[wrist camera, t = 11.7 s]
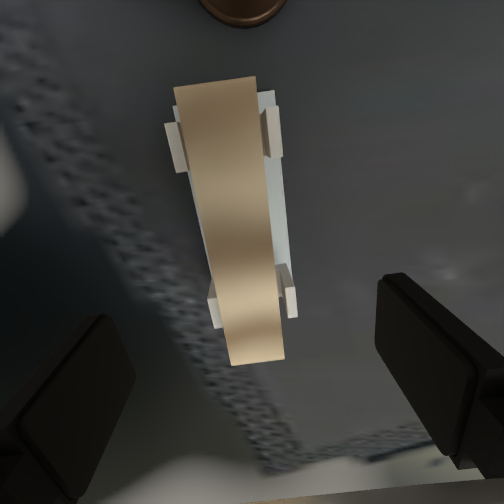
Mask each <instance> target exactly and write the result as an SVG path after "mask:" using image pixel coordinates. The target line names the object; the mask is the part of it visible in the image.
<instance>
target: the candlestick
mask: <svg viewBox="0 0 504 504" xmlns="http://www.w3.org/2000/svg"><path fill="white" fill-rule="evenodd" d="M199 2H200V3H201V5H202V6H203V7H204V8H205V10H206V11H207V12H208V13H209V14H210V15H211V16H213V17H214V18H215V19H216V20H218V21H219V22H221V23H223V24H225V25H227V26H230V27H234V28H241V29H248V28H253V27H258V26H260V25H262V24H264V23H266V22H268V21H269V20H270V19H272V18H273V17H274V16H276V15H277V13H278V12H279V11H280V10H281V9H282V8H283V7H284V5H285V3H286V2H287V0H199Z"/></svg>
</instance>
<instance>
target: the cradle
mask: <svg viewBox="0 0 504 504" xmlns="http://www.w3.org/2000/svg"><path fill="white" fill-rule="evenodd" d="M257 97H258V107H259V116H260V126H261V136H262V145H263V155H264V165H265V174H266V184H267V194H268V203H269V213H270V223H271V233H272V242H273V252H274V262H275V271H276V281H277V291H278V297H279V296H283V300H284V304H285V308H286V311H287V315H288V318H293V317H298V315H297V304H296V293H295V286H294V283H293V280H292V273H291V262H290V251H289V241H288V230H287V220H286V209H285V198H284V188H283V177H282V167H281V157H283V150H282V139H281V128H280V117H279V106H276V103H275V93H274V90H271V91H265V92H258V93H257ZM173 111H174V115H175V120H176V122H171V123H165V124H164V126H165V130H166V134H167V138H168V142H169V146H170V150H171V154H172V158H173V162H174V166H175V170H176V173H180V172H186V171H187V172H188V176H189V181H190V185H191V189H192V194H193V198H194V202H195V207H196V211H197V216H198V220H199V224H200V229H201V233H202V237H203V242H204V246H205V250H206V255H207V259H208V264H209V268H210V272H211V277H212V279H211V284H210V288H209V293H208V298H207V300H208V305H209V309H210V313H211V317H212V321H213V325H214V329H215V328H222V327H223V323H222V318H221V314H220V309H219V304H218V299H217V294H216V290H215V285H214V280H213V275H212V271H211V266H210V261H209V256H208V251H207V247H206V242H205V237H204V232H203V227H202V223H201V218H200V213H199V208H198V204H197V199H196V194H195V189H194V184H193V180H192V175H191V170H190V165H189V161H188V156H187V151H186V146H185V141H184V137H183V132H182V127H181V122H180V117H179V113H178V108H177V105H176V106H173Z"/></svg>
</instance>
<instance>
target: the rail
mask: <svg viewBox="0 0 504 504" xmlns="http://www.w3.org/2000/svg"><path fill="white" fill-rule="evenodd" d="M173 89H174V94H175V98H176V103H177V108H178V113H179V117H180V122H181V127H182V132H183V137H184V141H185V146H186V151H187V156H188V161H189V165H190V170H191V175H192V180H193V184H194V189H195V194H196V199H197V204H198V208H199V213H200V218H201V223H202V227H203V232H204V237H205V242H206V247H207V251H208V256H209V261H210V266H211V271H212V275H213V280H214V285H215V290H216V294H217V299H218V304H219V309H220V314H221V318H222V323H223V328H224V333H225V337H226V342H227V347H228V352H229V357H230V361H231V366H234V365H241V364H249V363H257V362H265V361H273V360H281V359H284V349H283V339H282V329H281V320H280V310H279V300H278V291H277V281H276V271H275V262H274V252H273V242H272V233H271V223H270V213H269V203H268V194H267V184H266V174H265V165H264V155H263V145H262V136H261V126H260V116H259V107H258V97H257V87H256V78H255V76H251V77H244V78H237V79H230V80H223V81H216V82H209V83H202V84H195V85H187V86H180V87H173Z"/></svg>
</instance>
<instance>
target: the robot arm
mask: <svg viewBox="0 0 504 504" xmlns="http://www.w3.org/2000/svg"><path fill="white" fill-rule="evenodd" d="M375 346H376V349H377V351H378V353H379V355H380V356H381V358H382V360H383V361H384V363H385V364H386V366H387V368H388V369H389V371H390V372H391V374H392V376H393V377H394V379H395V380H396V382H397V384H398V385H399V387H400V388H401V390H402V392H403V393H404V395H405V396H406V398H407V400H408V401H409V403H410V404H411V406H412V408H413V409H414V411H415V412H416V414H417V416H418V417H419V419H420V420H421V422H422V424H423V425H424V427H425V428H426V430H427V432H428V433H429V435H430V436H431V438H432V440H433V441H434V443H435V444H436V446H437V448H438V449H439V450H440V452H441V453H442V454H443V455H445V456H449V457H450V458H451V460H452V461H453V463H454V464H455V466H456V468H457V469H458V470H461V469H470V468H478V469H479V471H480V472H481V474H482V475H483V476H484V478H485V479H482V480H470V481H459V482H447V483H434V484H423V485H411V486H402V487H393V488H383V489H373V490H365V491H354V492H345V493H335V494H325V495H316V496H306V497H297V498H287V499H278V500H269V501H260V502H251V503H242V504H504V357H503V356H502V355H501V354H500V353H499V352H497V351H496V350H495V349H494V348H493V347H491V346H490V345H489V344H488V343H487V342H486V341H484V340H483V339H482V338H481V337H480V336H478V335H477V334H476V333H475V332H474V331H472V330H471V329H470V328H469V327H468V326H467V325H465V324H464V323H463V322H462V321H461V320H459V319H458V318H457V317H456V316H455V315H453V314H452V313H451V312H450V311H449V310H448V309H446V308H445V307H444V306H443V305H442V304H440V303H439V302H438V301H437V300H436V299H434V298H433V297H432V296H431V295H430V294H428V293H427V292H426V291H425V290H424V289H423V288H421V287H420V286H419V285H418V284H417V283H415V282H414V281H413V280H412V279H411V278H409V277H408V276H407V275H406V274H405V273H394V274H386V275H384V276H383V278H382V279H381V280H379V281H378V288H377V306H376V324H375ZM135 380H136V372H135V370H134V367H133V365H132V363H131V360H130V358H129V356H128V353H127V351H126V349H125V346H124V344H123V342H122V340H121V337H120V335H119V333H118V330H117V328H116V326H115V324H114V321H113V319H112V318H111V317H108V316H107V315H106V314H104V313H100V314H93V315H87V316H85V317H84V318H83V319H82V320H81V321H80V322H79V323H78V324H77V325H76V326H75V328H74V329H73V330H72V331H71V332H70V333H69V334H68V335H67V336H66V338H65V339H64V340H63V341H62V342H61V343H60V344H59V346H57V348H56V349H55V350H54V351H53V352H52V353H51V354H50V355H49V356H48V358H47V359H46V360H45V361H44V362H43V363H42V364H41V365H40V367H39V368H38V369H37V370H36V371H35V372H34V373H33V375H31V377H30V378H29V379H28V380H27V381H26V382H25V383H24V384H23V385H22V387H21V388H20V389H19V390H18V391H17V392H16V393H15V395H13V397H12V398H11V399H10V400H9V401H8V402H7V403H6V404H5V405H4V407H3V408H2V409H1V410H0V504H76V503H77V501H78V499H79V497H81V496H83V495H84V493H85V492H86V490H87V488H88V486H89V484H90V482H91V479H92V477H93V475H94V473H95V470H96V468H97V466H98V464H99V461H100V459H101V457H102V454H103V453H104V450H105V448H106V446H107V444H108V441H109V439H110V437H111V435H112V433H113V430H114V428H115V426H116V424H117V421H118V419H119V417H120V415H121V412H122V410H123V408H124V406H125V403H126V401H127V399H128V397H129V394H130V392H131V390H132V388H133V386H134V383H135Z"/></svg>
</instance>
